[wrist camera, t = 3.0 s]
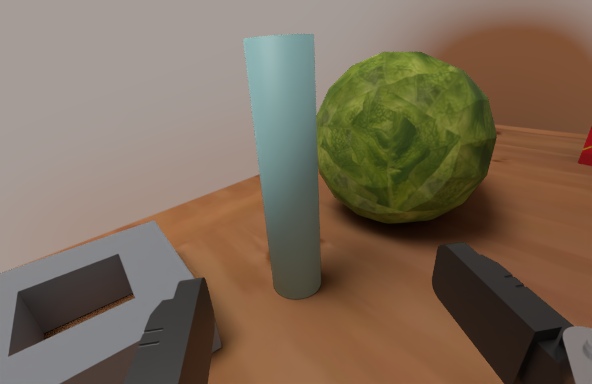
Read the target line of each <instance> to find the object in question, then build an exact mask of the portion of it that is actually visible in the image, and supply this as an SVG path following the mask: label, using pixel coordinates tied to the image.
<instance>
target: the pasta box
mask: <svg viewBox="0 0 592 384" xmlns="http://www.w3.org/2000/svg"><path fill="white" fill-rule="evenodd" d="M578 163H579V164H585V165H590V166H592V127H591V130H590V132H589V135H588V137H587V140H586V143H585V145H584V148H583V151H582V153H581V156H580V159H579V161H578Z"/></svg>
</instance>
